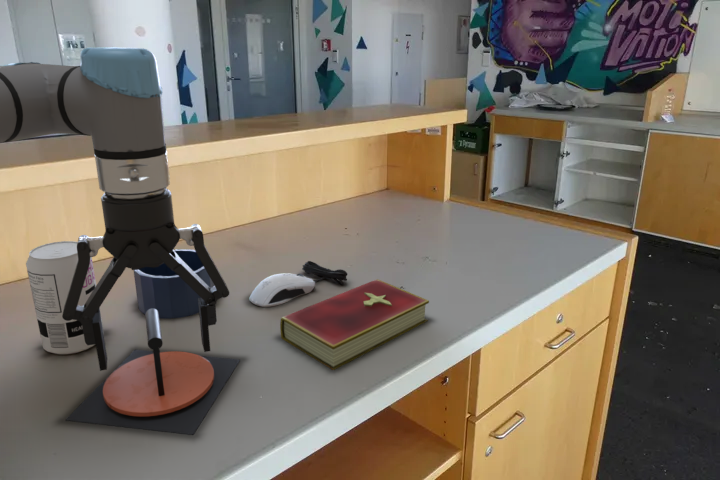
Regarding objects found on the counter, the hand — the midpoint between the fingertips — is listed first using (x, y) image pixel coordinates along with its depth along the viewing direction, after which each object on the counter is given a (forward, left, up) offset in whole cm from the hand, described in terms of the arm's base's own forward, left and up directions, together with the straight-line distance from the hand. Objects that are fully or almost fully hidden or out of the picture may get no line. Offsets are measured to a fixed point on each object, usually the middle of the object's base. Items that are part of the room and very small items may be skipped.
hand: (156, 355), depth 70 cm
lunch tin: (-9, +24, -5) cm, 26 cm away
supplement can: (-18, +9, -5) cm, 21 cm away
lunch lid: (0, 0, -4) cm, 4 cm away
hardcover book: (+23, +20, -5) cm, 31 cm away
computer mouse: (+10, +32, -5) cm, 34 cm away
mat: (0, 0, -5) cm, 5 cm away
